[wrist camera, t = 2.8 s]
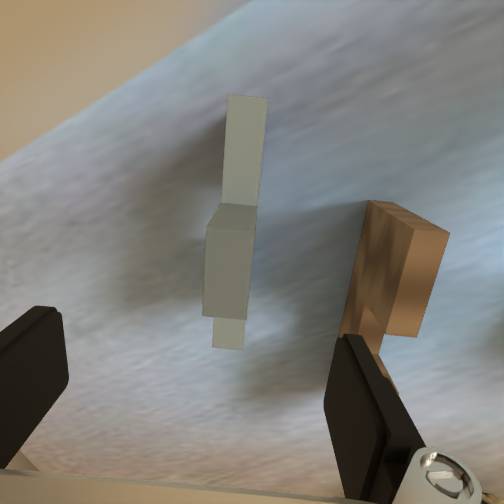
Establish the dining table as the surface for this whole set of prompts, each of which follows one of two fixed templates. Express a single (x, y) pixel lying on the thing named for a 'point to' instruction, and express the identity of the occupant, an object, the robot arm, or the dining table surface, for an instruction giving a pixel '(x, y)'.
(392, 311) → the walnut slotted board
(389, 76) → the dining table surface
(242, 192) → the grey slotted plate
